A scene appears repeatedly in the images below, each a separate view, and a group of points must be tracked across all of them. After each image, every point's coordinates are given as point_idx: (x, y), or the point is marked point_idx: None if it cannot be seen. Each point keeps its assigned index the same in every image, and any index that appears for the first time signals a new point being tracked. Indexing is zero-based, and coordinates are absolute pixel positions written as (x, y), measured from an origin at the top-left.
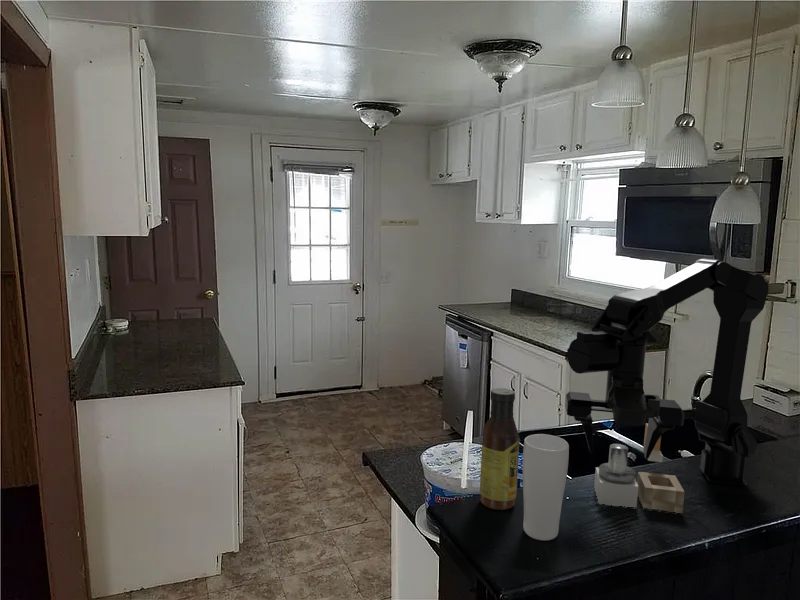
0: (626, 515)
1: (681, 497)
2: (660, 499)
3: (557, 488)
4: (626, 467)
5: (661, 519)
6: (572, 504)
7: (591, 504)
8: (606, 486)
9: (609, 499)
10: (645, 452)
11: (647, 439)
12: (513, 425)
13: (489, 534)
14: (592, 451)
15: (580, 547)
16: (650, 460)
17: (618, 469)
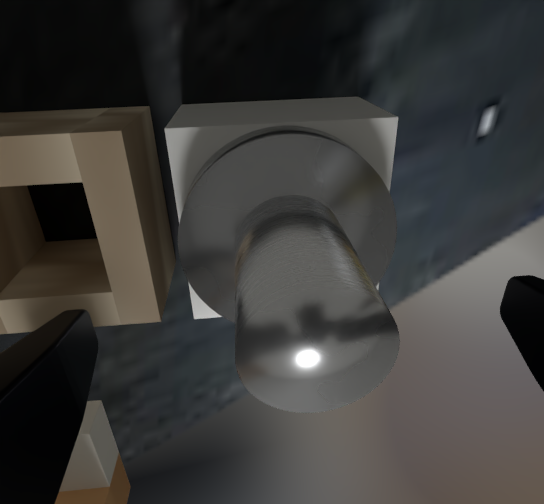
0: (234, 9)
1: None
2: (46, 120)
3: None
4: (236, 249)
5: (57, 18)
6: (484, 53)
7: (390, 83)
8: (352, 114)
9: (314, 102)
10: (79, 359)
11: (20, 495)
12: None
13: None
14: (521, 282)
15: None
16: (87, 403)
17: (295, 205)
